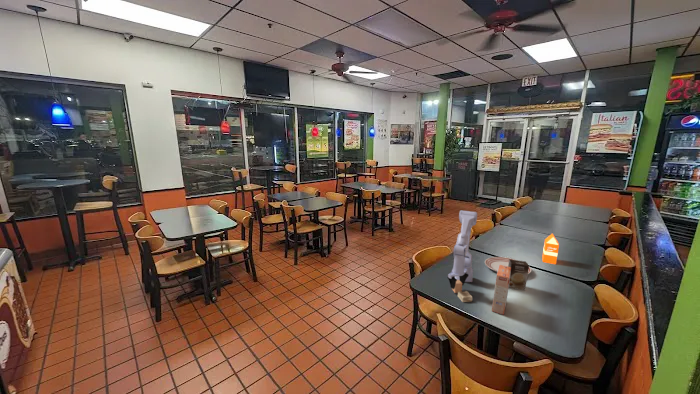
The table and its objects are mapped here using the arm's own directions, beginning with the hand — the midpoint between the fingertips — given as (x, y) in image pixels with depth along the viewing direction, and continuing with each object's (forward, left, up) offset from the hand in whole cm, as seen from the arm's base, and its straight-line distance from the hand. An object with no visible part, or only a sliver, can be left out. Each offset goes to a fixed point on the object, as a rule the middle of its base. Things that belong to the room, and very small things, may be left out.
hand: (457, 286), depth 156 cm
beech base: (-1, +8, -3) cm, 9 cm away
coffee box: (-37, -2, -3) cm, 37 cm away
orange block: (0, 0, -3) cm, 3 cm away
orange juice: (-84, -34, -3) cm, 91 cm away
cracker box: (-16, +16, -3) cm, 23 cm away
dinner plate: (-46, -24, -3) cm, 52 cm away
